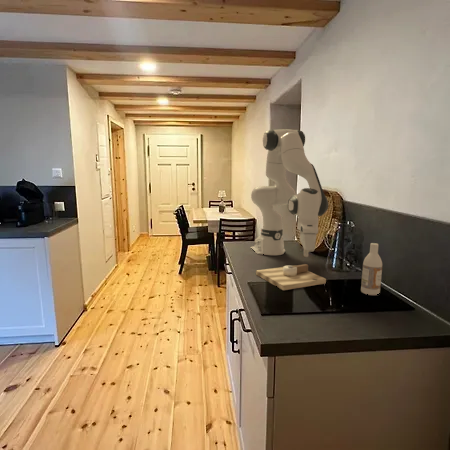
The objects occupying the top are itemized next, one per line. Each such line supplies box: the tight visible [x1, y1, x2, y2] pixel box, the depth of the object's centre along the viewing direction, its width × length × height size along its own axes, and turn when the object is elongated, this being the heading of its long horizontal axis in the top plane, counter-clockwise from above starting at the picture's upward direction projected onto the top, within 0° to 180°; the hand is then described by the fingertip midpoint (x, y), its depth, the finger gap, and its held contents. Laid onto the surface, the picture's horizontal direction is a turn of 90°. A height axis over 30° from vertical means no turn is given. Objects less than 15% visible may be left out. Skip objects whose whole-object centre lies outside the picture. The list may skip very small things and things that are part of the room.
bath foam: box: [360, 242, 383, 296], centre depth 130 cm, size 7×7×20 cm
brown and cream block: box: [282, 263, 309, 276], centre depth 148 cm, size 13×6×4 cm, turn 120°
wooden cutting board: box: [255, 265, 327, 291], centre depth 147 cm, size 22×22×2 cm
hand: (305, 256), depth 147 cm, fingers closed
